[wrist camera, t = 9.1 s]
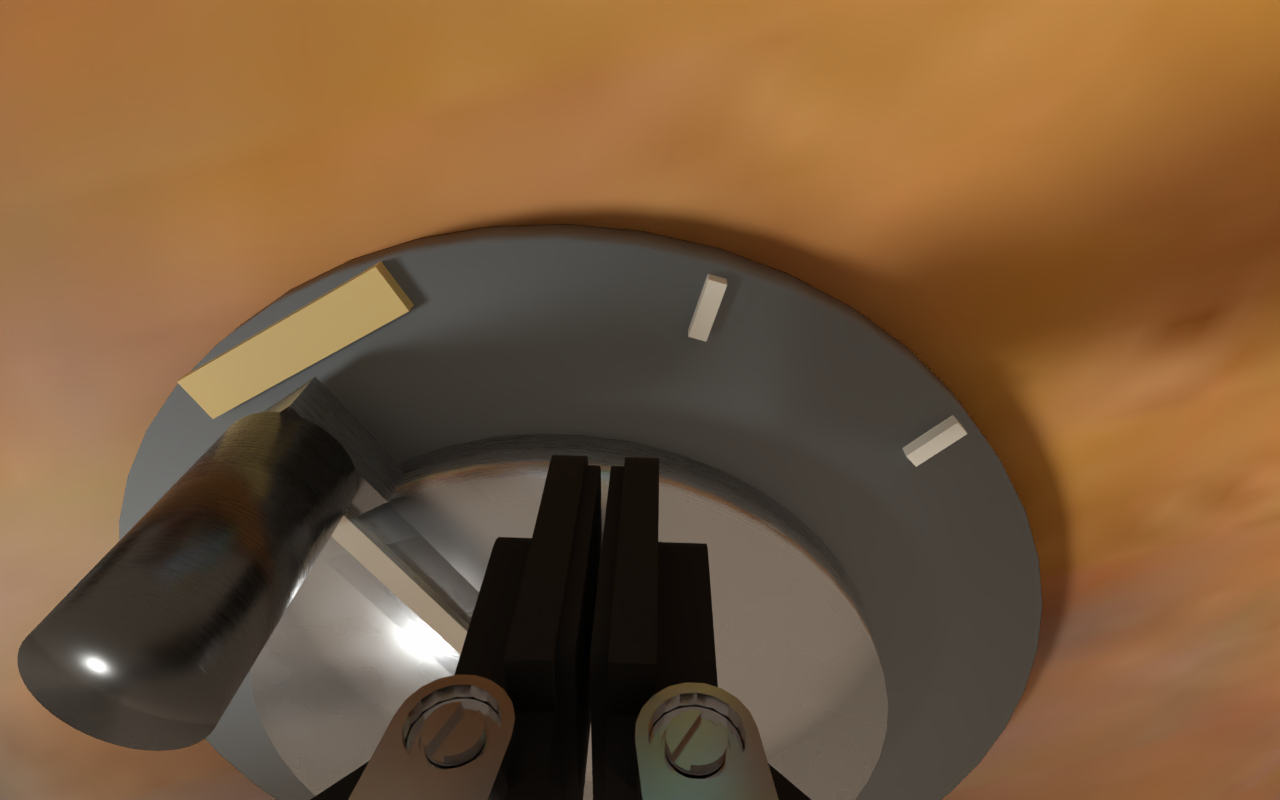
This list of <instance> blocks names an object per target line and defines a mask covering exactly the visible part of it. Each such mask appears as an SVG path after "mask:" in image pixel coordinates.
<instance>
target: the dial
mask: <svg viewBox="0 0 1280 800" xmlns="http://www.w3.org/2000/svg"><path fill="white" fill-rule="evenodd" d="M552 455H570V456H587V457H588V465H597V466H600V467H601V514H602V542H603V533H604V524H605V515H606V506H607V497H608V488H609V479H610V470H611V466H624V462H625V457H638V458H659V523H658V542H673V543H705V544H707V548H708V558H709V572H710V586H711V599H712V613H713V627H714V640H715V654H716V668H717V681H718V687H719V688H722V689H724V690H725V691H727V692H728V693H730V694H732V695H733V696H735V697H736V698H738V699H739V700H740V701H741V702H742V703H743V705H744V706H745V707H746V708H747V709H748V710H749V711H750V713H751V715H752V717H753V719H754V721H755V723H756V725H757V727H758V730H759V734H760V737H761V741H762V744H763V748H764V751H765V754H766V758H767V761H768V763H769V764H770V765H771V766H772V767H774V768H775V769H776V770H777V771H778V772H779V773H781V774H782V775H783V776H784V777H785V778H786V779H788V780H789V781H790V782H791V783H792V784H793V785H795V786H796V787H797V788H798V789H799V790H801V791H802V792H803V793H804V794H805V795H806V796H808V797H809V798H810V799H811V800H855V799H856V797H857V796H858V794H859V793H860V792H861V790H862V789H863V788H864V786H865V785H866V783H867V782H868V780H869V778H870V776H871V774H872V772H873V770H874V768H875V766H876V764H877V762H878V760H879V757H880V754H881V750H882V746H883V743H884V739H885V735H886V731H887V715H888V699H887V692H886V685H885V678H884V673H883V670H882V666H881V663H880V659H879V656H878V652H877V649H876V645H875V642H874V639H873V635H872V632H871V628H870V625H869V621H868V619H867V616H866V613H865V610H864V607H863V605H862V602H861V599H860V596H859V594H858V592H857V590H856V588H855V587H854V585H853V583H852V581H851V580H850V578H849V576H848V574H847V573H846V571H845V569H844V567H843V566H842V564H841V563H840V562H839V561H838V560H837V558H836V557H835V556H834V555H833V553H832V552H831V551H830V550H829V548H828V547H827V546H826V545H825V544H824V542H823V541H822V540H821V539H820V538H819V537H818V536H817V535H816V534H815V533H814V532H813V531H812V530H811V529H809V528H808V527H807V526H806V525H805V524H804V523H803V522H802V521H801V520H800V519H798V518H797V517H796V516H795V515H794V514H793V513H792V512H790V511H789V510H787V509H786V508H785V507H783V506H782V505H780V504H779V503H777V502H776V501H774V500H773V499H771V498H770V497H769V496H767V495H766V494H764V493H763V492H761V491H760V490H758V489H757V488H755V487H753V486H751V485H749V484H747V483H745V482H743V481H741V480H739V479H737V478H735V477H733V476H731V475H729V474H727V473H726V472H724V471H722V470H720V469H717V468H715V467H712V466H709V465H707V464H704V463H701V462H699V461H696V460H693V459H691V458H688V457H685V456H683V455H680V454H677V453H674V452H670V451H666V450H662V449H658V448H654V447H650V446H646V445H642V444H638V443H634V442H629V441H622V440H615V439H608V438H600V437H593V436H586V435H559V434H529V435H517V436H505V437H493V438H486V439H482V440H477V441H472V442H467V443H462V444H457V445H452V446H447V447H444V448H441V449H438V450H435V451H432V452H429V453H426V454H423V455H420V456H417V457H414V458H411V459H408V460H406V461H404V462H402V463H399V462H398V461H397V460H396V459H395V458H394V457H393V456H392V455H391V454H390V453H389V452H388V451H387V450H386V449H385V448H384V447H383V446H382V445H381V443H380V442H379V441H378V440H377V439H376V438H375V437H374V436H373V435H372V434H371V433H370V432H369V431H368V430H367V429H366V428H365V427H364V426H363V425H362V424H361V423H360V422H359V421H358V420H357V419H356V418H355V417H354V416H353V415H352V414H351V413H350V412H349V411H348V410H347V409H346V408H345V407H344V405H343V404H342V403H341V402H340V401H339V400H338V399H337V398H336V397H335V396H334V395H333V394H332V393H331V392H330V391H329V390H328V389H327V388H326V387H325V386H324V385H323V384H322V383H321V382H320V381H319V380H318V379H317V378H316V377H314V378H312V379H311V380H309V381H308V382H306V383H305V384H303V385H302V386H301V387H299V388H298V389H296V390H295V391H293V392H292V393H290V394H289V395H287V396H286V397H284V398H283V399H281V400H280V401H278V402H277V403H275V404H274V405H272V406H271V407H269V408H268V409H266V410H265V411H263V412H260V413H255V414H251V415H248V416H245V417H243V418H241V419H239V420H237V421H236V422H235V423H234V424H232V425H231V426H230V427H229V428H228V429H227V430H226V431H225V432H224V433H223V434H222V435H221V436H220V437H219V438H218V440H217V441H216V442H215V443H214V444H213V445H212V446H211V447H210V448H209V449H208V450H207V451H206V452H205V453H204V454H203V455H202V456H201V457H200V458H199V459H198V460H197V461H196V462H195V463H194V464H193V465H192V466H191V467H190V468H189V470H188V471H187V472H186V473H185V474H184V475H183V476H182V477H181V478H180V479H179V480H178V481H177V482H176V483H175V484H174V485H173V486H172V487H171V488H170V489H169V490H168V491H167V492H166V493H165V494H164V495H163V496H162V497H161V498H160V500H159V501H158V502H157V503H156V504H155V505H154V506H153V507H152V508H151V509H150V510H149V511H148V512H147V513H146V514H145V515H144V516H143V517H142V518H141V519H140V520H139V521H138V522H137V523H136V524H135V525H134V526H133V527H132V528H131V530H130V531H129V532H128V533H127V534H126V535H125V536H124V537H123V538H122V539H121V540H120V541H119V542H118V543H117V544H116V545H115V546H114V547H113V548H112V549H111V550H110V551H109V552H108V553H107V554H106V555H105V556H104V557H103V558H102V560H101V561H100V562H99V563H98V564H97V565H96V566H95V567H94V568H93V569H92V570H91V571H90V572H89V573H88V574H87V575H86V576H85V577H84V578H83V579H82V580H81V581H80V582H79V583H78V584H77V585H76V586H75V587H74V588H73V590H72V591H71V592H70V593H69V594H68V595H67V596H66V597H65V598H64V599H63V600H62V601H61V602H60V603H59V604H58V605H57V606H56V607H55V608H54V609H53V610H52V611H51V612H50V613H49V614H48V615H47V616H46V617H45V618H44V620H43V621H42V622H41V623H40V624H39V625H38V626H37V627H36V628H35V629H34V630H33V631H32V632H31V633H30V634H29V635H28V636H27V637H26V639H25V640H24V641H23V642H22V644H21V646H20V648H19V652H18V667H19V672H20V675H21V677H22V679H23V682H24V683H25V685H26V686H27V688H28V690H29V691H30V692H31V693H32V695H33V696H34V697H35V698H36V699H37V700H38V701H39V702H40V703H41V704H42V706H44V707H45V708H46V709H47V710H48V711H49V712H51V713H52V714H53V715H55V716H56V717H57V718H59V719H60V720H62V721H63V722H65V723H67V724H68V725H70V726H72V727H73V728H75V729H77V730H79V731H81V732H83V733H85V734H87V735H90V736H92V737H94V738H97V739H100V740H103V741H105V742H108V743H112V744H115V745H119V746H123V747H128V748H133V749H141V750H154V751H162V750H174V749H180V748H184V747H188V746H191V745H193V744H196V743H198V742H200V741H201V740H203V739H205V738H206V737H207V736H208V735H209V734H211V732H212V731H213V730H214V728H215V727H216V725H217V724H218V722H219V720H220V719H221V717H222V715H223V714H224V712H225V710H226V709H227V707H228V705H229V704H230V702H231V701H232V699H233V697H234V696H235V694H236V692H237V691H238V689H239V687H240V686H241V684H242V682H243V681H244V679H245V677H246V676H247V674H248V672H249V671H250V681H251V687H252V692H253V697H254V702H255V706H256V709H257V711H258V714H259V716H260V719H261V721H262V724H263V727H264V729H265V731H266V733H267V735H268V737H269V738H270V740H271V742H272V743H273V745H274V747H275V748H276V750H277V752H278V754H279V755H280V757H281V758H282V759H283V760H284V762H285V763H286V764H287V766H288V767H289V768H290V769H291V771H292V772H293V773H294V774H295V776H296V777H297V778H298V779H299V780H300V781H301V782H302V783H303V784H304V785H305V786H306V787H307V788H308V789H309V790H310V791H311V792H312V793H313V794H314V795H315V796H316V795H318V794H319V793H321V792H322V791H324V790H326V789H327V788H329V787H330V786H332V785H333V784H335V783H336V782H338V781H339V780H341V779H342V778H344V777H345V776H347V775H348V774H350V773H351V772H353V771H354V770H356V769H358V768H359V767H361V766H362V765H364V764H365V763H367V762H368V761H370V759H371V757H372V755H373V753H374V751H375V750H376V748H377V746H378V744H379V742H380V740H381V738H382V737H383V735H384V733H385V731H386V729H387V727H388V726H389V724H390V722H391V720H392V718H393V716H394V715H395V713H396V712H397V711H398V709H399V708H400V706H401V705H402V704H403V702H404V701H405V700H406V699H407V698H408V697H409V696H411V695H412V694H413V693H414V692H415V691H417V690H418V689H419V688H420V687H422V686H424V685H426V684H428V683H430V682H433V681H435V680H437V679H439V678H444V677H448V676H453V675H454V674H455V671H456V668H457V664H458V661H459V658H460V654H461V651H462V648H463V644H464V641H465V638H466V635H467V631H468V628H469V625H470V621H471V618H472V615H473V611H474V608H475V605H476V601H477V598H478V595H479V591H480V588H481V585H482V582H483V578H484V575H485V572H486V568H487V565H488V562H489V558H490V555H491V552H492V548H493V546H494V543H495V541H496V539H497V538H498V537H514V538H532V536H533V532H534V528H535V524H536V519H537V515H538V511H539V507H540V503H541V498H542V494H543V490H544V486H545V481H546V477H547V473H548V469H549V465H550V460H551V457H552ZM583 800H593V782H592V745H591V726H590V736H589V745H588V755H587V765H586V775H585V785H584V795H583Z"/></svg>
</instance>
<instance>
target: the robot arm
mask: <svg viewBox="0 0 1280 800" xmlns="http://www.w3.org/2000/svg"><path fill="white" fill-rule="evenodd" d="M658 523H659V458H638V457H625V462H624V466H611V470H610V479H609V488H608V497H607V506H606V515H605V524H604V533H603V542H602V514H601V467H600V466H597V465H588V457H587V456H570V455H552V457H551V460H550V465H549V469H548V473H547V477H546V481H545V486H544V490H543V494H542V498H541V503H540V507H539V511H538V515H537V519H536V524H535V528H534V532H533V536H532V538H514V537H498V538H497V539H496V541H495V543H494V546H493V548H492V552H491V555H490V558H489V562H488V565H487V568H486V572H485V575H484V578H483V582H482V585H481V588H480V591H479V595H478V598H477V601H476V605H475V608H474V611H473V615H472V618H471V621H470V625H469V628H468V631H467V635H466V638H465V641H464V644H463V648H462V651H461V654H460V658H459V661H458V664H457V668H456V671H455V674H454V675H453V676H448V677H444V678H439V679H437V680H435V681H433V682H430V683H428V684H426V685H424V686H422V687H420V688H419V689H418V690H417V691H415V692H414V693H413V694H412V695H411V696H409V697H408V698H407V699H406V700H405V701H404V702H403V704H402V705H401V706H400V708H399V709H398V711H397V712H396V713H395V715H394V716H393V718H392V720H391V722H390V724H389V726H388V727H387V729H386V731H385V733H384V735H383V737H382V738H381V740H380V742H379V744H378V746H377V748H376V750H375V751H374V753H373V755H372V757H371V759H370V761H368V762H367V763H365V764H364V765H362V766H361V767H359V768H358V769H356V770H354V771H353V772H351V773H350V774H348V775H347V776H345V777H344V778H342V779H341V780H339V781H338V782H336V783H335V784H333V785H332V786H330V787H329V788H327V789H326V790H324V791H322V792H321V793H319V794H318V795H316V796H315V797H313V798H312V799H310V800H583V795H584V785H585V775H586V765H587V755H588V745H589V736H590V726H591V745H592V782H593V800H811V799H810V798H809V797H808V796H806V795H805V794H804V793H803V792H802V791H801V790H799V789H798V788H797V787H796V786H795V785H793V784H792V783H791V782H790V781H789V780H788V779H786V778H785V777H784V776H783V775H782V774H781V773H779V772H778V771H777V770H776V769H775V768H774V767H772V766H771V765H770V764H769V763H768V761H767V758H766V754H765V751H764V748H763V744H762V741H761V737H760V734H759V730H758V727H757V725H756V723H755V721H754V719H753V717H752V715H751V713H750V711H749V710H748V709H747V708H746V707H745V706H744V705H743V703H742V702H741V701H740V700H739V699H738V698H736V697H735V696H733V695H732V694H730V693H728V692H727V691H725V690H724V689H722V688H719V687H718V681H717V668H716V654H715V640H714V627H713V613H712V599H711V586H710V572H709V558H708V548H707V544H705V543H673V542H658Z"/></svg>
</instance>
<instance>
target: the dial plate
mask: <svg viewBox="0 0 1280 800" xmlns="http://www.w3.org/2000/svg"><path fill="white" fill-rule="evenodd" d="M314 377H316V378H317V379H318V380H319V381H320V382H321V383H322V384H323V385H324V386H325V387H326V388H327V389H328V390H329V391H330V392H331V393H332V394H333V395H334V396H335V397H336V398H337V399H338V400H339V401H340V402H341V403H342V404H343V405H344V407H345V408H346V409H347V410H348V411H349V412H350V413H351V414H352V415H353V416H354V417H355V418H356V419H357V420H358V421H359V422H360V423H361V424H362V425H363V426H364V427H365V428H366V429H367V430H368V431H369V432H370V433H371V434H372V435H373V436H374V437H375V438H376V439H377V440H378V441H379V442H380V443H381V445H382V446H383V447H384V448H385V449H386V450H387V451H388V452H389V453H390V454H391V455H392V456H393V457H394V458H395V459H396V460H397V461H398V462H399V463H402V462H404V461H406V460H408V459H411V458H414V457H417V456H420V455H423V454H426V453H429V452H432V451H435V450H438V449H441V448H444V447H447V446H452V445H457V444H462V443H467V442H472V441H477V440H482V439H486V438H493V437H505V436H517V435H529V434H559V435H586V436H593V437H600V438H608V439H615V440H622V441H629V442H634V443H638V444H642V445H646V446H650V447H654V448H658V449H662V450H666V451H670V452H674V453H677V454H680V455H683V456H685V457H688V458H691V459H693V460H696V461H699V462H701V463H704V464H707V465H709V466H712V467H715V468H717V469H720V470H722V471H724V472H726V473H727V474H729V475H731V476H733V477H735V478H737V479H739V480H741V481H743V482H745V483H747V484H749V485H751V486H753V487H755V488H757V489H758V490H760V491H761V492H763V493H764V494H766V495H767V496H769V497H770V498H771V499H773V500H774V501H776V502H777V503H779V504H780V505H782V506H783V507H785V508H786V509H787V510H789V511H790V512H792V513H793V514H794V515H795V516H796V517H797V518H798V519H800V520H801V521H802V522H803V523H804V524H805V525H806V526H807V527H808V528H809V529H811V530H812V531H813V532H814V533H815V534H816V535H817V536H818V537H819V538H820V539H821V540H822V541H823V542H824V544H825V545H826V546H827V547H828V548H829V550H830V551H831V552H832V553H833V555H834V556H835V557H836V558H837V560H838V561H839V562H840V563H841V564H842V566H843V567H844V569H845V571H846V573H847V574H848V576H849V578H850V580H851V581H852V583H853V585H854V587H855V588H856V590H857V592H858V594H859V596H860V599H861V602H862V605H863V607H864V610H865V613H866V616H867V619H868V621H869V625H870V628H871V632H872V635H873V639H874V642H875V645H876V649H877V652H878V656H879V659H880V663H881V666H882V670H883V673H884V678H885V685H886V692H887V699H888V715H887V731H886V735H885V739H884V743H883V746H882V750H881V754H880V757H879V760H878V762H877V764H876V766H875V768H874V770H873V772H872V774H871V776H870V778H869V780H868V782H867V783H866V785H865V786H864V788H863V789H862V790H861V792H860V793H859V794H858V796H857V797H856V799H855V800H941V799H942V798H944V797H945V796H946V795H947V794H949V793H950V792H951V791H952V790H953V789H954V788H955V787H956V786H957V785H958V784H959V783H960V782H961V781H962V780H963V779H964V778H965V777H966V776H967V775H968V774H969V773H970V772H971V771H972V770H973V769H974V768H975V767H976V766H977V765H978V764H979V763H980V761H981V760H982V759H983V757H984V756H985V755H986V753H987V752H988V751H989V749H990V748H991V747H992V745H993V744H994V742H995V741H996V740H997V738H998V737H999V736H1000V734H1001V733H1002V732H1003V730H1004V729H1005V727H1006V725H1007V723H1008V721H1009V719H1010V718H1011V716H1012V714H1013V712H1014V710H1015V708H1016V706H1017V704H1018V702H1019V700H1020V698H1021V696H1022V694H1023V692H1024V690H1025V687H1026V684H1027V681H1028V678H1029V674H1030V671H1031V668H1032V665H1033V662H1034V658H1035V655H1036V652H1037V647H1038V638H1039V630H1040V622H1041V613H1042V595H1041V582H1040V569H1039V558H1038V555H1037V551H1036V548H1035V544H1034V540H1033V537H1032V533H1031V529H1030V526H1029V522H1028V519H1027V515H1026V511H1025V509H1024V507H1023V505H1022V503H1021V501H1020V499H1019V497H1018V495H1017V493H1016V491H1015V489H1014V487H1013V485H1012V483H1011V481H1010V479H1009V477H1008V475H1007V473H1006V471H1005V469H1004V467H1003V465H1002V463H1001V461H1000V460H999V458H998V456H997V455H996V453H995V452H994V450H993V449H992V447H991V446H990V444H989V442H988V441H987V439H986V438H985V436H984V435H983V434H982V432H981V431H980V430H979V428H978V427H977V425H976V424H975V423H974V421H973V420H972V419H971V417H970V416H969V415H968V413H967V412H966V410H965V409H964V408H963V406H962V405H961V404H960V402H959V401H958V400H957V398H956V397H955V395H954V394H953V393H952V391H951V390H950V389H949V388H948V387H947V386H946V385H945V384H944V383H943V382H942V381H941V380H940V379H939V378H938V377H937V376H936V375H935V374H934V373H933V372H932V371H931V370H930V369H929V368H928V367H926V366H925V365H924V364H923V363H922V362H921V361H920V360H919V359H918V358H917V357H916V356H915V355H914V354H913V353H912V352H911V351H910V350H909V349H908V348H907V347H906V346H905V345H903V344H902V343H901V342H899V341H898V340H896V339H895V338H894V337H892V336H891V335H889V334H888V333H887V332H885V331H884V330H883V329H881V328H880V327H878V326H877V325H876V324H874V323H873V322H871V321H870V320H869V319H867V318H866V317H865V316H863V315H862V314H860V313H859V312H858V311H856V310H855V309H853V308H852V307H850V306H848V305H846V304H844V303H843V302H841V301H839V300H837V299H835V298H833V297H831V296H829V295H827V294H825V293H824V292H822V291H820V290H818V289H816V288H814V287H812V286H810V285H808V284H806V283H805V282H803V281H801V280H799V279H797V278H795V277H793V276H791V275H789V274H787V273H784V272H782V271H779V270H776V269H773V268H771V267H768V266H765V265H762V264H760V263H757V262H754V261H751V260H749V259H746V258H743V257H740V256H738V255H735V254H732V253H730V252H727V251H724V250H721V249H719V248H714V247H710V246H706V245H701V244H697V243H692V242H688V241H683V240H679V239H674V238H670V237H665V236H661V235H657V234H652V233H648V232H643V231H633V230H622V229H611V228H601V227H590V226H579V225H569V224H558V225H529V226H501V227H486V228H480V229H474V230H468V231H462V232H456V233H450V234H445V235H439V236H433V237H427V238H421V239H416V240H413V241H409V242H406V243H403V244H400V245H397V246H394V247H391V248H387V249H384V250H381V251H378V252H375V253H372V254H368V255H365V256H362V257H359V258H356V259H353V260H350V261H348V262H346V263H344V264H341V265H339V266H337V267H335V268H333V269H331V270H329V271H327V272H325V273H323V274H321V275H319V276H317V277H315V278H313V279H311V280H309V281H307V282H305V283H303V284H301V285H299V286H297V287H295V288H293V289H291V290H289V291H288V292H286V293H285V294H284V295H282V296H281V297H279V298H278V299H277V300H275V301H274V302H272V303H271V304H270V305H268V306H267V307H265V308H264V309H263V310H261V311H260V312H258V313H257V314H255V315H254V316H253V317H251V318H250V319H248V320H247V321H246V322H244V323H243V324H241V325H240V326H239V327H238V328H237V329H235V330H234V331H233V332H232V333H231V334H229V335H228V336H227V337H226V338H225V339H223V340H222V341H221V342H220V343H218V344H217V345H216V346H215V347H214V348H213V349H212V350H211V351H210V352H209V353H208V354H207V355H206V356H205V357H204V358H203V359H202V360H201V361H200V362H199V363H198V364H197V365H196V366H195V367H194V368H193V370H192V371H191V372H190V373H188V374H186V375H185V376H184V377H182V378H181V379H180V380H179V381H178V382H177V383H178V385H177V386H176V387H175V389H174V390H173V392H172V393H171V395H170V396H169V398H168V399H167V401H166V402H165V404H164V405H163V407H162V408H161V410H160V411H159V413H158V414H157V416H156V417H155V419H154V420H153V422H152V423H151V425H150V426H149V428H148V429H147V431H146V433H145V436H144V438H143V441H142V443H141V445H140V448H139V450H138V453H137V455H136V458H135V460H134V462H133V465H132V467H131V470H130V472H129V475H128V479H127V484H126V489H125V495H124V500H123V505H122V510H121V515H120V521H119V532H120V540H121V539H122V538H123V537H124V536H125V535H126V534H127V533H128V532H129V531H130V530H131V528H132V527H133V526H134V525H135V524H136V523H137V522H138V521H139V520H140V519H141V518H142V517H143V516H144V515H145V514H146V513H147V512H148V511H149V510H150V509H151V508H152V507H153V506H154V505H155V504H156V503H157V502H158V501H159V500H160V498H161V497H162V496H163V495H164V494H165V493H166V492H167V491H168V490H169V489H170V488H171V487H172V486H173V485H174V484H175V483H176V482H177V481H178V480H179V479H180V478H181V477H182V476H183V475H184V474H185V473H186V472H187V471H188V470H189V468H190V467H191V466H192V465H193V464H194V463H195V462H196V461H197V460H198V459H199V458H200V457H201V456H202V455H203V454H204V453H205V452H206V451H207V450H208V449H209V448H210V447H211V446H212V445H213V444H214V443H215V442H216V441H217V440H218V438H219V437H220V436H221V435H222V434H223V433H224V432H225V431H226V430H227V429H228V428H229V427H230V426H231V425H232V424H234V423H235V422H236V421H237V420H239V419H241V418H243V417H245V416H248V415H251V414H255V413H260V412H263V411H265V410H266V409H268V408H269V407H271V406H272V405H274V404H275V403H277V402H278V401H280V400H281V399H283V398H284V397H286V396H287V395H289V394H290V393H292V392H293V391H295V390H296V389H298V388H299V387H301V386H302V385H303V384H305V383H306V382H308V381H309V380H311V379H312V378H314ZM205 739H206V740H207V741H208V742H209V743H210V744H211V745H212V746H213V747H214V748H215V750H216V751H217V752H218V753H219V754H220V755H221V756H222V757H224V758H225V759H226V760H227V761H228V762H229V763H231V764H232V765H233V766H234V767H235V768H236V769H238V770H239V771H240V772H241V773H242V774H243V775H245V776H246V777H247V778H248V779H249V780H250V781H252V782H253V783H254V784H255V785H257V786H258V787H260V788H261V789H262V790H264V791H265V792H267V793H268V794H270V795H271V796H272V797H274V798H275V799H277V800H310V799H312V798H313V797H315V795H314V794H313V793H312V792H311V791H310V790H309V789H308V788H307V787H306V786H305V785H304V784H303V783H302V782H301V781H300V780H299V779H298V778H297V777H296V776H295V774H294V773H293V772H292V771H291V769H290V768H289V767H288V766H287V764H286V763H285V762H284V760H283V759H282V758H281V757H280V755H279V754H278V752H277V750H276V748H275V747H274V745H273V743H272V742H271V740H270V738H269V737H268V735H267V733H266V731H265V729H264V727H263V724H262V721H261V719H260V716H259V714H258V711H257V709H256V706H255V702H254V697H253V692H252V687H251V681H250V671H249V672H248V674H247V676H246V677H245V679H244V681H243V682H242V684H241V686H240V687H239V689H238V691H237V692H236V694H235V696H234V697H233V699H232V701H231V702H230V704H229V705H228V707H227V709H226V710H225V712H224V714H223V715H222V717H221V719H220V720H219V722H218V724H217V725H216V727H215V728H214V730H213V731H212V732H211V734H209V735H208V736H207V737H206V738H205Z"/></svg>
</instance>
